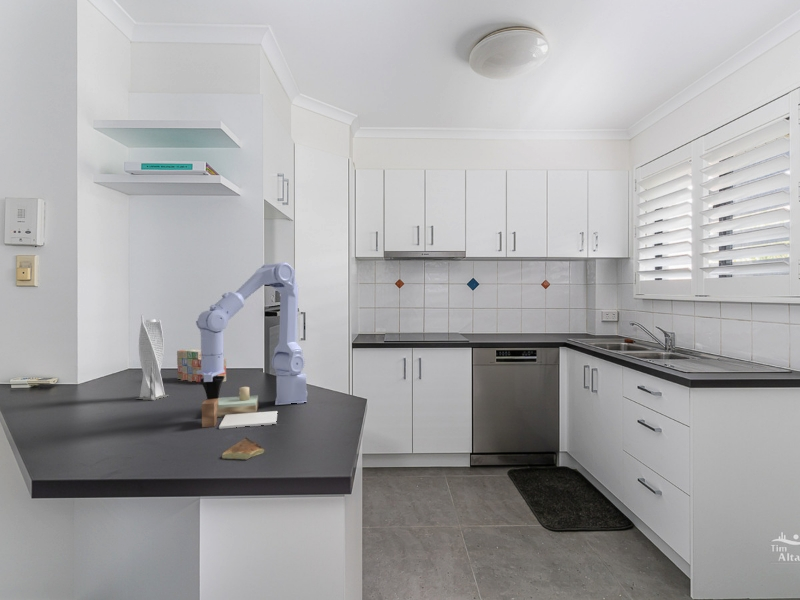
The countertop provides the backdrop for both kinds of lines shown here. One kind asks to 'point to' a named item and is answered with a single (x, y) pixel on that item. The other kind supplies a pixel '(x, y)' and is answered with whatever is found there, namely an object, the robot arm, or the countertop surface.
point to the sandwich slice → (243, 450)
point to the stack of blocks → (192, 365)
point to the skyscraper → (151, 359)
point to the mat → (249, 419)
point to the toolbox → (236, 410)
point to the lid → (238, 399)
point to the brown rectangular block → (209, 412)
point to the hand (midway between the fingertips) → (213, 403)
